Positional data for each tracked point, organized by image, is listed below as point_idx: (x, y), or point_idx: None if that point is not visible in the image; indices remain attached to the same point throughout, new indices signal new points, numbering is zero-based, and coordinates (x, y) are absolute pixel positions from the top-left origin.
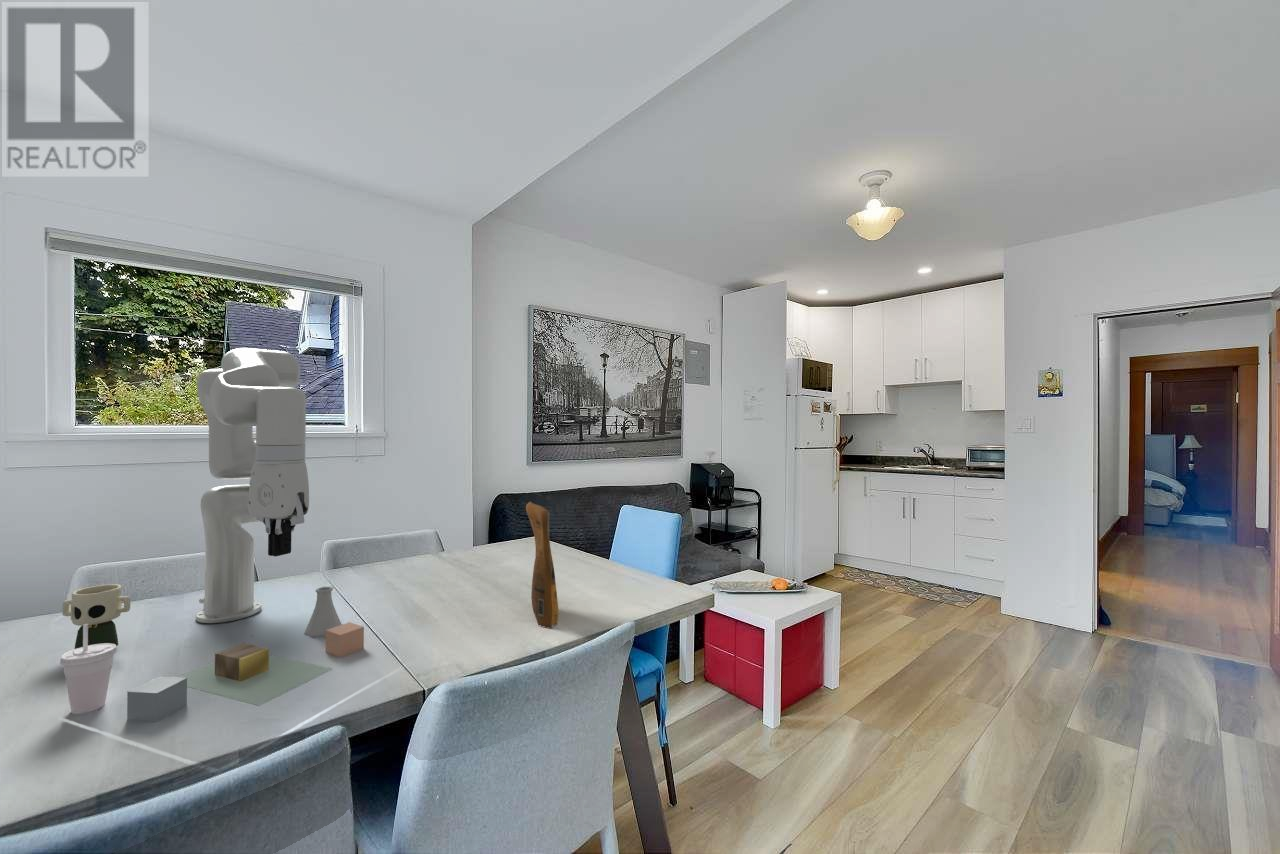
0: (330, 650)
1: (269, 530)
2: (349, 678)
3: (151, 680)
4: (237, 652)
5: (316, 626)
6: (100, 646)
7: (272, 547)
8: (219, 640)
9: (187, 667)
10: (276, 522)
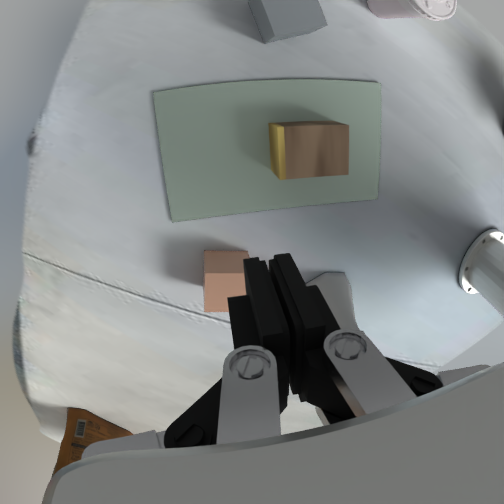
0: (233, 255)
1: (338, 349)
2: (124, 218)
3: (320, 12)
4: (316, 143)
5: (327, 289)
6: (440, 7)
7: (264, 280)
8: (438, 206)
9: (400, 128)
10: (275, 419)
